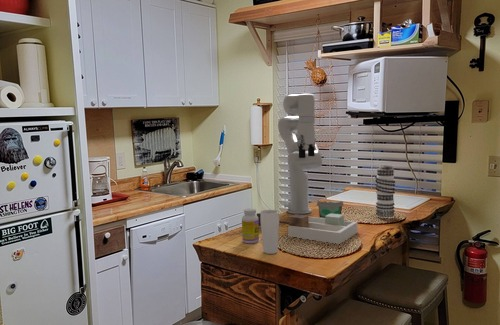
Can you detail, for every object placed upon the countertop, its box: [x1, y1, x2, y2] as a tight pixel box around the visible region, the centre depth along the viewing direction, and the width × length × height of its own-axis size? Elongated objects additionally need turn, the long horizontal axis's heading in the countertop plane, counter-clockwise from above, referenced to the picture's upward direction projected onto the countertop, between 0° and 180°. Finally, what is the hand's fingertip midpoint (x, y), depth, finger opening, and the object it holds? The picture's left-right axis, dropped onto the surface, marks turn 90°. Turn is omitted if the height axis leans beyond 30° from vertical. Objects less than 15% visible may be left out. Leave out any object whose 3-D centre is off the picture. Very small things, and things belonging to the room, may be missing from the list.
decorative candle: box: [374, 164, 396, 218], centre depth 200 cm, size 9×9×25 cm
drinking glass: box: [260, 209, 280, 255], centre depth 151 cm, size 7×7×15 cm
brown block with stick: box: [256, 212, 309, 228], centre depth 179 cm, size 24×6×6 cm, turn 56°
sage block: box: [325, 213, 345, 226], centre depth 175 cm, size 6×6×6 cm
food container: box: [316, 200, 344, 218], centre depth 192 cm, size 12×6×10 cm, turn 70°
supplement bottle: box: [241, 208, 260, 244], centre depth 165 cm, size 7×7×13 cm
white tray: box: [287, 216, 359, 245], centre depth 173 cm, size 22×20×4 cm
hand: (306, 157), depth 196 cm, fingers open, 9 cm apart
